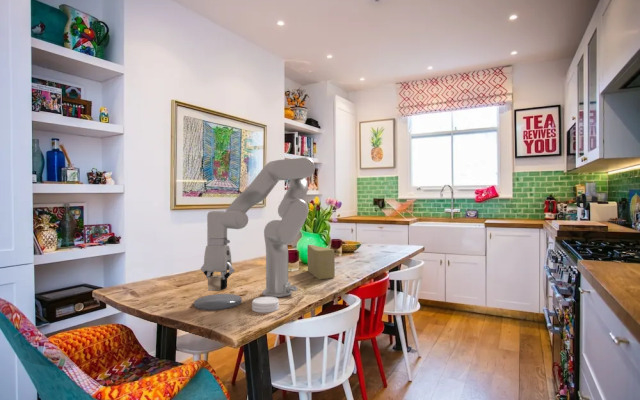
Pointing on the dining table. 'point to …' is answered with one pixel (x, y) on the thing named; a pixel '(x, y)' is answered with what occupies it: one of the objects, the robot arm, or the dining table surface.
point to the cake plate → (217, 302)
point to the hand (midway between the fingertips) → (217, 288)
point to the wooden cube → (214, 283)
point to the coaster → (265, 304)
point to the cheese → (321, 262)
